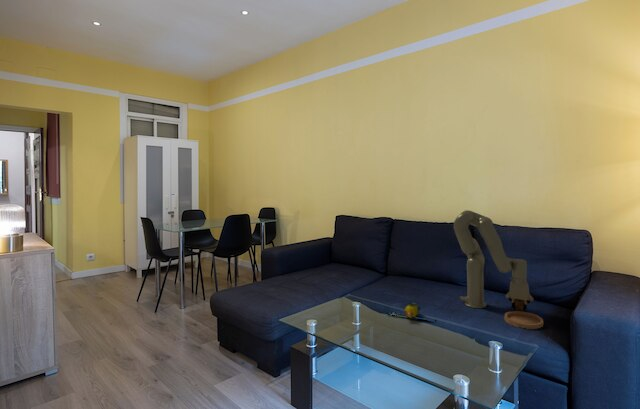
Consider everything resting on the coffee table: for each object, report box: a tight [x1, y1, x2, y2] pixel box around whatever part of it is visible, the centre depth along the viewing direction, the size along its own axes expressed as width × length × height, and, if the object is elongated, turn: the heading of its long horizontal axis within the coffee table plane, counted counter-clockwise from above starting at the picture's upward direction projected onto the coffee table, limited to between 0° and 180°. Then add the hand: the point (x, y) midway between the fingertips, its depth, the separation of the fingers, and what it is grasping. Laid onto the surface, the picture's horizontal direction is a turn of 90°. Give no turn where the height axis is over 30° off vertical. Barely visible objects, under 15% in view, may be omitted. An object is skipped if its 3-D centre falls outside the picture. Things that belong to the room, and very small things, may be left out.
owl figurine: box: [387, 302, 422, 320], centre depth 203 cm, size 28×9×15 cm
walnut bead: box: [513, 299, 525, 312], centre depth 205 cm, size 5×5×7 cm
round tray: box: [503, 310, 544, 330], centre depth 191 cm, size 19×19×2 cm
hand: (519, 309), depth 206 cm, fingers closed on walnut bead, 5 cm apart
